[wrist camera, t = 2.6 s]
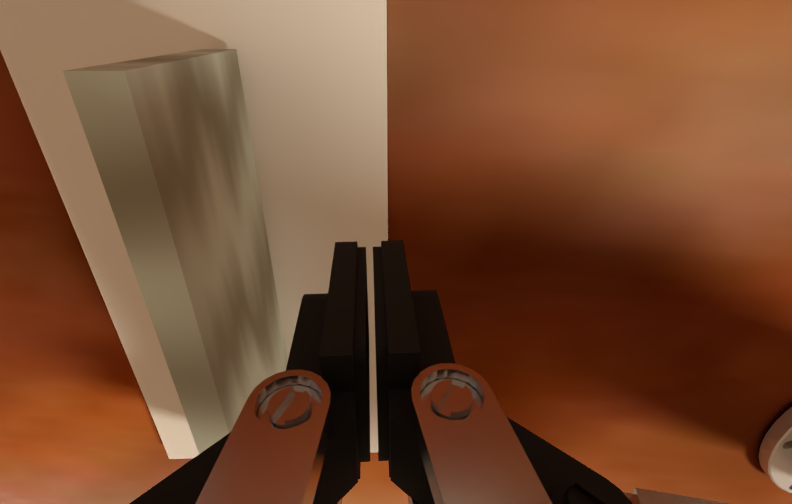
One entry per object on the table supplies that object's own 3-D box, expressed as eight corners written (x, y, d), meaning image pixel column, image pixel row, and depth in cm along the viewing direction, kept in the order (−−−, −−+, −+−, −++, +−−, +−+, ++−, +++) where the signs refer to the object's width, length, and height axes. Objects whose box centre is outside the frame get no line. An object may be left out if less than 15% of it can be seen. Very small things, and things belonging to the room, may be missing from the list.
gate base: (389, 440, 28) (395, 665, 18) (174, 447, 27) (63, 681, 17) (385, -30, 15) (399, -121, 5) (-16, -33, 14) (-794, -142, 5)
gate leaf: (300, 405, 24) (270, 551, 17) (268, 406, 24) (227, 553, 17) (244, 49, 15) (139, 70, 8) (193, 49, 15) (47, 71, 8)
